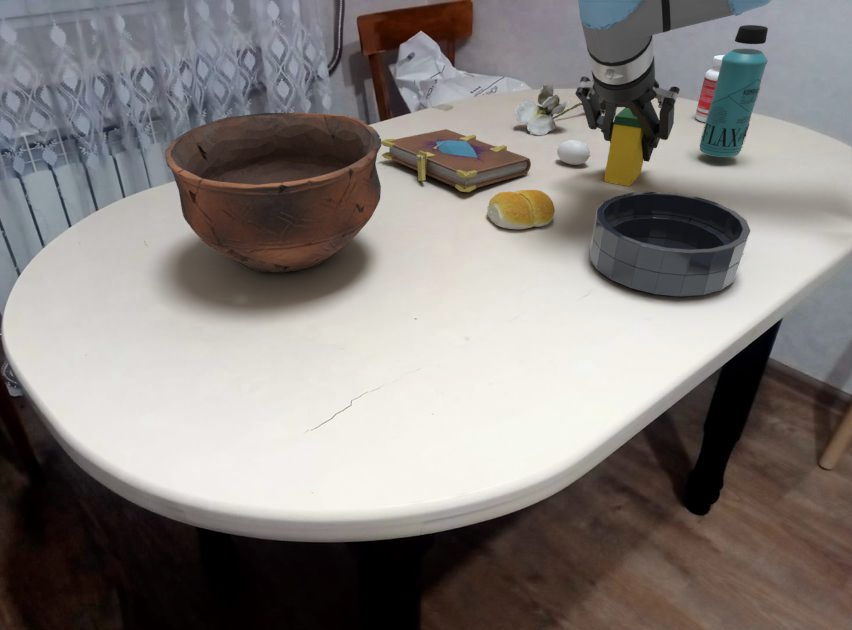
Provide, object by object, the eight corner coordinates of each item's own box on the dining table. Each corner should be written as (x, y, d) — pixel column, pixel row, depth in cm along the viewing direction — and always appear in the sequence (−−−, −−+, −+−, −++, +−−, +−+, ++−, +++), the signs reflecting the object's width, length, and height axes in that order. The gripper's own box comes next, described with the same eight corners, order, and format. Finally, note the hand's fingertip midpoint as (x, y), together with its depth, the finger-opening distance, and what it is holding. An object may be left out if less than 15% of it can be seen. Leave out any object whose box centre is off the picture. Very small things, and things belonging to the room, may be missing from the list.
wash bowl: (745, 253, 82) (760, 207, 78) (719, 315, 70) (735, 266, 67) (612, 225, 89) (620, 182, 86) (569, 277, 78) (577, 231, 74)
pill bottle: (713, 126, 122) (729, 62, 115) (687, 118, 126) (701, 56, 120) (736, 121, 124) (754, 58, 117) (710, 113, 128) (726, 52, 122)
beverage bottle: (688, 159, 108) (721, 26, 97) (707, 150, 112) (741, 20, 100) (727, 169, 104) (766, 31, 92) (746, 159, 108) (786, 25, 96)
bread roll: (564, 225, 90) (568, 197, 87) (504, 235, 87) (506, 207, 85) (534, 202, 96) (537, 175, 94) (478, 211, 94) (480, 184, 91)
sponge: (640, 173, 104) (654, 109, 98) (629, 186, 100) (642, 119, 94) (615, 169, 106) (627, 105, 100) (603, 181, 102) (615, 115, 96)
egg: (560, 157, 111) (563, 134, 109) (594, 164, 108) (597, 140, 106) (549, 163, 108) (552, 140, 106) (583, 171, 105) (587, 147, 103)
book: (432, 142, 121) (433, 114, 118) (532, 180, 105) (536, 149, 102) (359, 158, 113) (359, 128, 110) (456, 201, 97) (458, 168, 94)
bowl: (154, 303, 76) (120, 176, 67) (226, 214, 95) (207, 107, 87) (368, 314, 72) (361, 183, 64) (396, 220, 92) (394, 109, 83)
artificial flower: (619, 121, 130) (635, 73, 122) (530, 156, 123) (541, 108, 115) (589, 99, 134) (602, 51, 126) (501, 131, 127) (510, 84, 119)
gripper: (546, 79, 86) (572, 163, 107) (683, 96, 79) (682, 182, 99) (566, 28, 87) (587, 121, 108) (704, 39, 79) (699, 137, 100)
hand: (633, 150), depth 103 cm, fingers open, 4 cm apart
